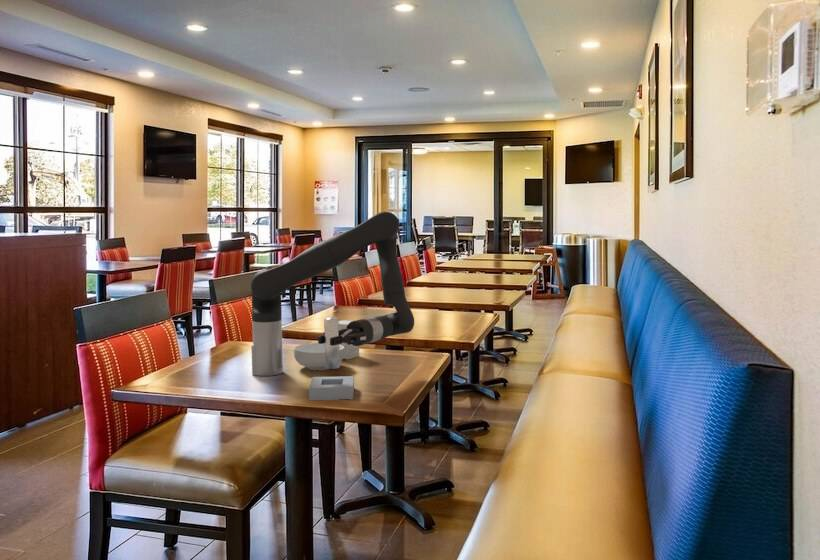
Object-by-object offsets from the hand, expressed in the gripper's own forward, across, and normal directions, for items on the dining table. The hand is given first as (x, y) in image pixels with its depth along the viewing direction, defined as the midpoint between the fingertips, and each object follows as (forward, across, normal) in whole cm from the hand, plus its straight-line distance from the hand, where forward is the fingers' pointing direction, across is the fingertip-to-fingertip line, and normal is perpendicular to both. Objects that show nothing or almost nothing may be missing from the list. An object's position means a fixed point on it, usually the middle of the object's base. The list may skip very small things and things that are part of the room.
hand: (325, 341), depth 182 cm
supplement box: (-41, -29, +16) cm, 53 cm away
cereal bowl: (-23, -25, +16) cm, 38 cm away
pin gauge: (-3, 0, +8) cm, 8 cm away
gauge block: (-2, 0, +16) cm, 16 cm away
